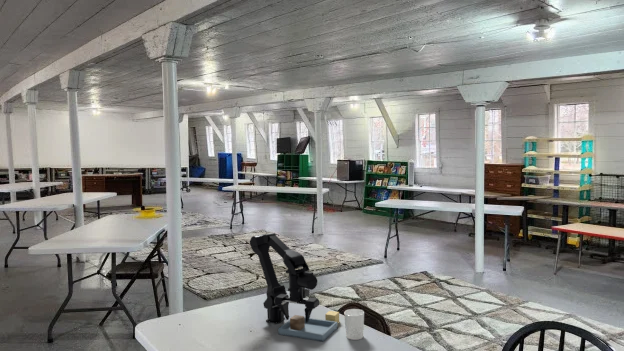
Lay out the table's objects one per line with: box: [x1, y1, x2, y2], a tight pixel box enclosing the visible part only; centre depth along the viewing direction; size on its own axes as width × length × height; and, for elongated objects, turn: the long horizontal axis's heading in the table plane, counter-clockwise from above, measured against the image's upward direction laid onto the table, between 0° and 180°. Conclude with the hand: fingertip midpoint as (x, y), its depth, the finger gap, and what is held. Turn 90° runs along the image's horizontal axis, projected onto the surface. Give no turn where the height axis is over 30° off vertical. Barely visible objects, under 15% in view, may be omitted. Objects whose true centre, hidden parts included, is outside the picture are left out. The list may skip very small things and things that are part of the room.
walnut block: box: [289, 314, 305, 331], centre depth 196 cm, size 4×4×4 cm
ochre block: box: [324, 310, 340, 325], centre depth 202 cm, size 4×4×4 cm
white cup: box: [343, 308, 365, 341], centre depth 187 cm, size 8×8×10 cm
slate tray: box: [277, 316, 338, 343], centre depth 194 cm, size 20×15×2 cm
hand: (297, 321), depth 196 cm, fingers open, 9 cm apart
